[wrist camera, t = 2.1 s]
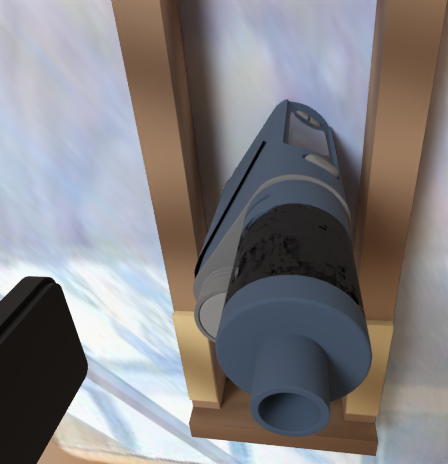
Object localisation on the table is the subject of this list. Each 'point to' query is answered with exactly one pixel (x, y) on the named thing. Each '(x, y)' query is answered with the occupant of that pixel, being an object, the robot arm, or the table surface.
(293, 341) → the vaping device
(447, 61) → the table surface
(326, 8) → the table surface
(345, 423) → the rail channel
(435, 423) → the table surface
